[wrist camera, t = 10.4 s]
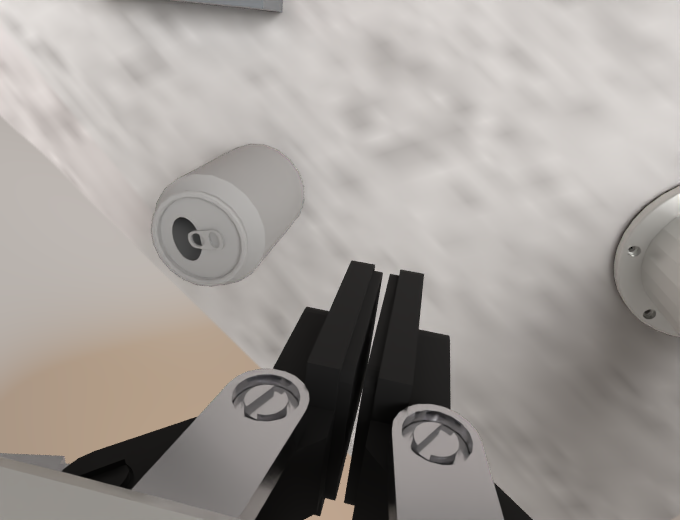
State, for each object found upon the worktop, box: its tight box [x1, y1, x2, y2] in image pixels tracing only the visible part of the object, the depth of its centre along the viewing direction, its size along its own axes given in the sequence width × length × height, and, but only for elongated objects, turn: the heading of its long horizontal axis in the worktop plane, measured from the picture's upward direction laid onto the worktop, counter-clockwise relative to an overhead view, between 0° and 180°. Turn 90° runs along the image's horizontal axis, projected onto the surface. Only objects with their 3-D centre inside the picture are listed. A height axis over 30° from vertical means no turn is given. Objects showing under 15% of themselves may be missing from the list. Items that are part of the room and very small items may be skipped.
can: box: [151, 144, 304, 286], centre depth 34 cm, size 8×8×12 cm
